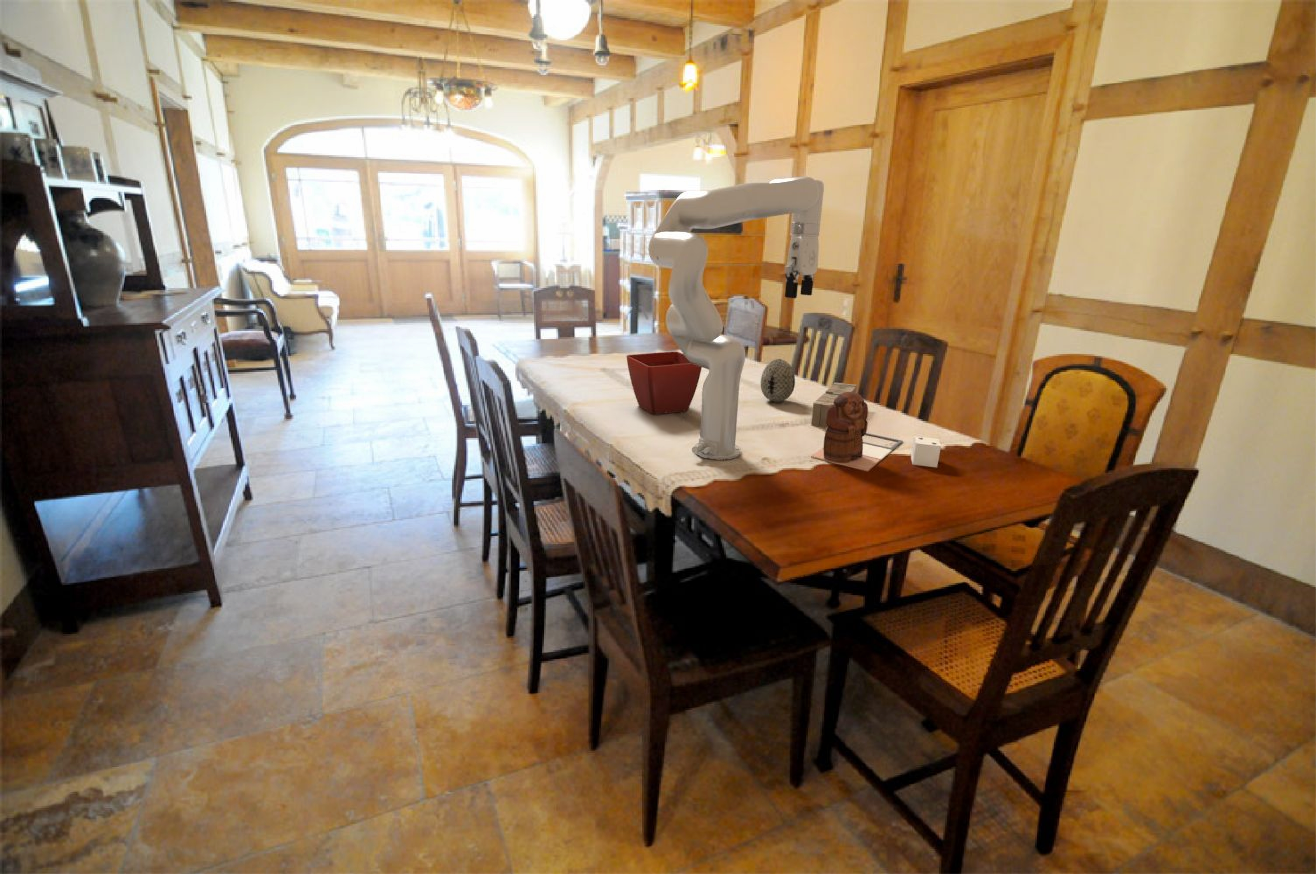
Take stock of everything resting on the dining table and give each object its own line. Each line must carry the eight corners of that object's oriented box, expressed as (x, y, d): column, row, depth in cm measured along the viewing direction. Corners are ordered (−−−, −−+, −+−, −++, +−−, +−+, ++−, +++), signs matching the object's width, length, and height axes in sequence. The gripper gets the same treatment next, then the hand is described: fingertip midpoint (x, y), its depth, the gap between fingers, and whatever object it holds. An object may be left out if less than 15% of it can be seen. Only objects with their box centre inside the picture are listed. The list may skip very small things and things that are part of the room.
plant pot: (624, 403, 214) (625, 354, 208) (675, 398, 221) (677, 350, 216) (647, 419, 197) (648, 366, 192) (701, 413, 205) (704, 362, 199)
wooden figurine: (837, 465, 163) (846, 398, 157) (818, 458, 168) (826, 392, 162) (867, 457, 169) (877, 392, 163) (849, 450, 174) (857, 387, 168)
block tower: (835, 433, 193) (855, 407, 217) (838, 406, 190) (858, 383, 214) (809, 428, 196) (832, 403, 220) (812, 402, 193) (834, 380, 217)
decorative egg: (797, 400, 222) (802, 358, 217) (785, 408, 213) (789, 364, 208) (766, 395, 228) (770, 354, 223) (753, 402, 219) (757, 359, 214)
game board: (867, 471, 161) (867, 470, 160) (810, 457, 169) (811, 455, 169) (902, 442, 183) (902, 440, 183) (850, 430, 192) (851, 429, 191)
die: (936, 467, 165) (941, 445, 163) (912, 464, 166) (916, 443, 164) (934, 459, 170) (938, 438, 168) (910, 457, 172) (914, 436, 170)
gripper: (804, 230, 158) (797, 300, 164) (831, 230, 171) (824, 295, 177) (777, 229, 162) (771, 297, 168) (805, 229, 175) (799, 292, 181)
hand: (798, 296), depth 172 cm, fingers open, 9 cm apart
